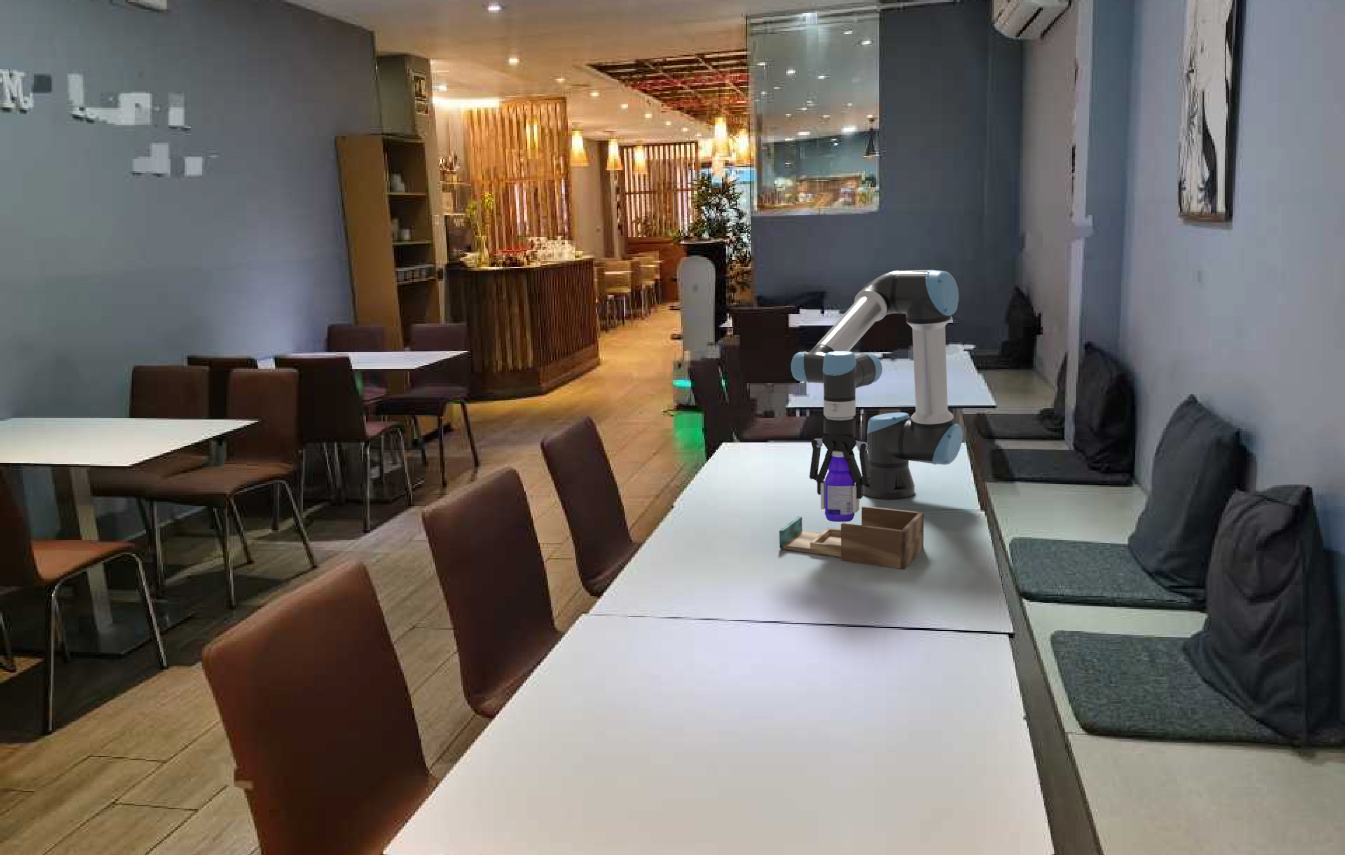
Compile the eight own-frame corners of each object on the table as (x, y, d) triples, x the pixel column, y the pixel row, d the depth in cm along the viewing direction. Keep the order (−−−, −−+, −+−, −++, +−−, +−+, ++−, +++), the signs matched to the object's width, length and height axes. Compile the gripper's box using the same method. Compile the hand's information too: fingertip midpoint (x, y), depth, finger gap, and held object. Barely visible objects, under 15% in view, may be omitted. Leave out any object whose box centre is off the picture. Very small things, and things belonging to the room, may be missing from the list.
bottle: (854, 516, 237) (854, 447, 234) (856, 523, 232) (856, 452, 228) (824, 516, 238) (823, 447, 234) (825, 523, 232) (824, 453, 229)
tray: (798, 533, 248) (798, 516, 247) (879, 543, 238) (879, 525, 237) (779, 548, 238) (779, 530, 237) (862, 559, 227) (862, 541, 226)
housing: (862, 540, 242) (862, 505, 240) (923, 547, 234) (923, 512, 233) (841, 560, 228) (840, 524, 226) (904, 569, 221) (904, 531, 219)
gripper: (793, 417, 231) (795, 509, 236) (876, 422, 222) (875, 518, 226) (805, 411, 238) (806, 501, 242) (885, 416, 228) (885, 509, 233)
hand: (840, 509), depth 234 cm, fingers closed on bottle, 7 cm apart
